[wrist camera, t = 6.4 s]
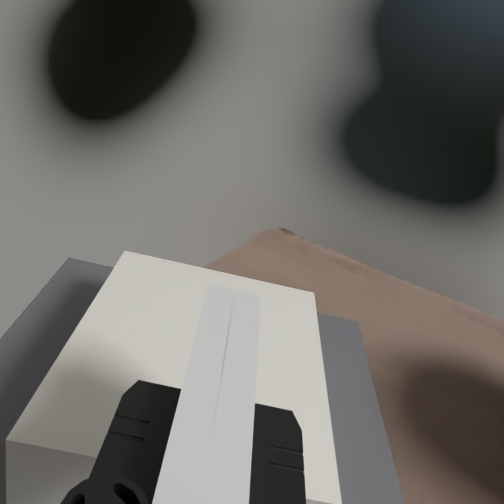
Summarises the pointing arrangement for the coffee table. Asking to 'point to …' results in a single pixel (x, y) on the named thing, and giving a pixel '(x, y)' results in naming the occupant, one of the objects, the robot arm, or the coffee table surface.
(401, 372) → the coffee table surface
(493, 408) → the coffee table surface
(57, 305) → the mat
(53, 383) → the tile
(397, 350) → the coffee table surface
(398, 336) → the coffee table surface
